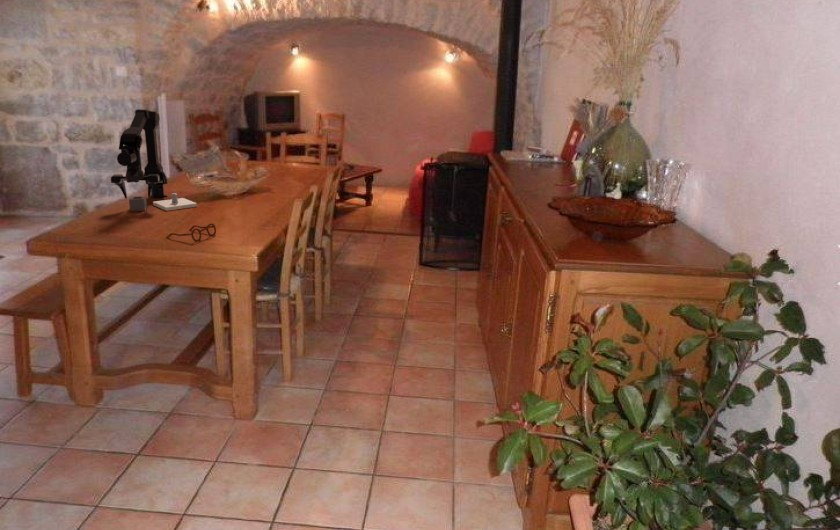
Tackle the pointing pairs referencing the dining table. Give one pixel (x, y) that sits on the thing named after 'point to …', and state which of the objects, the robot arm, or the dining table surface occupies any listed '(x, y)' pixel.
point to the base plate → (174, 203)
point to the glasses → (198, 231)
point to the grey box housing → (138, 203)
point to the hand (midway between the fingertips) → (137, 198)
